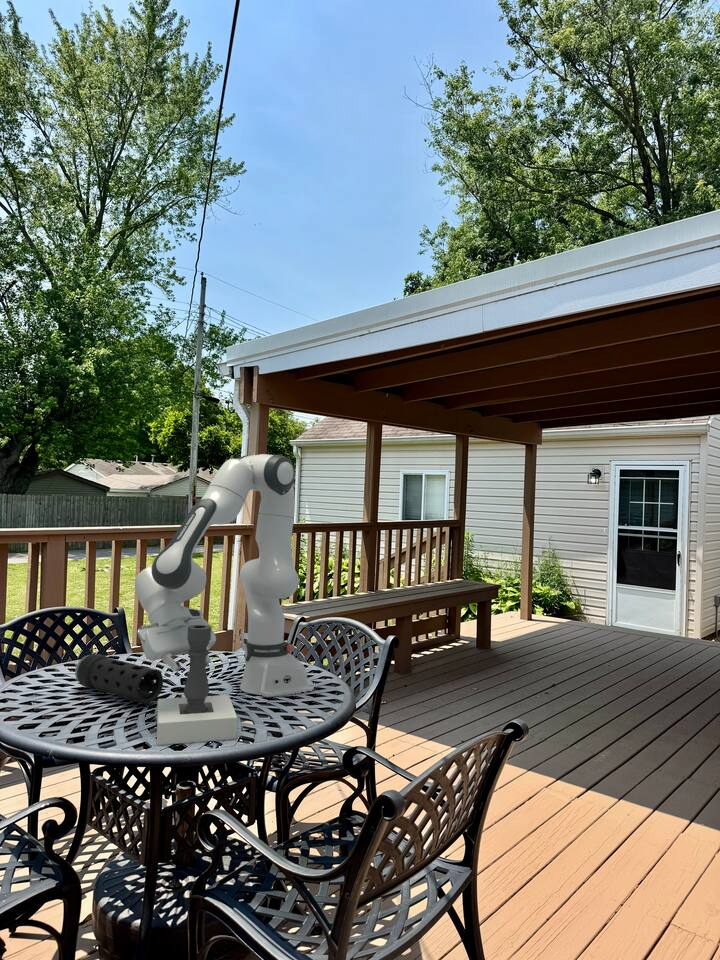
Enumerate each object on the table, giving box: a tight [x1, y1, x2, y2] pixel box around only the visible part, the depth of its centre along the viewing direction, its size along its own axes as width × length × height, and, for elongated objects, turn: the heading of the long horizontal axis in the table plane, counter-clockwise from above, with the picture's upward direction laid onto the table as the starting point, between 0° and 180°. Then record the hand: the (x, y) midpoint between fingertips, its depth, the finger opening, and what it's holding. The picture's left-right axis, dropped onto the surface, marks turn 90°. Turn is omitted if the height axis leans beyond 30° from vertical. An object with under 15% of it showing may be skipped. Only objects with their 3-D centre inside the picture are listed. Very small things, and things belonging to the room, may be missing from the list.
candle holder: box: [183, 625, 212, 714], centre depth 153 cm, size 6×6×25 cm
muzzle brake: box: [74, 653, 164, 706], centre depth 175 cm, size 10×28×10 cm, turn 58°
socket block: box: [156, 694, 238, 746], centre depth 152 cm, size 18×18×5 cm
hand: (192, 666), depth 154 cm, fingers open, 8 cm apart
